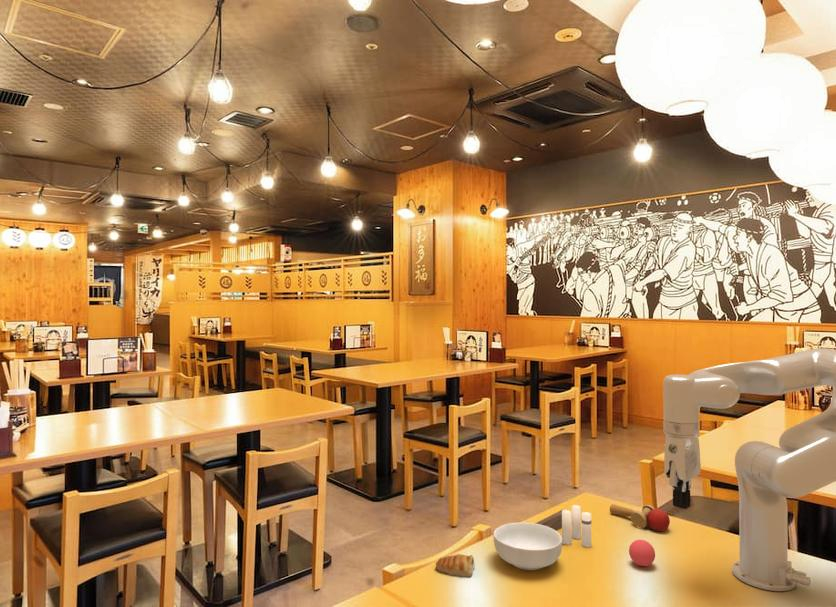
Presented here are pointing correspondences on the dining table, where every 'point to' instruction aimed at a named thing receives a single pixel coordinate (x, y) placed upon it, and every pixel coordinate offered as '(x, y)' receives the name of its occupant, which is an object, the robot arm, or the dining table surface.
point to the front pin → (586, 529)
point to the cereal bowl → (527, 545)
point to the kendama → (644, 516)
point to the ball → (642, 552)
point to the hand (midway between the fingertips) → (681, 506)
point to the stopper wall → (552, 521)
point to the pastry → (456, 565)
